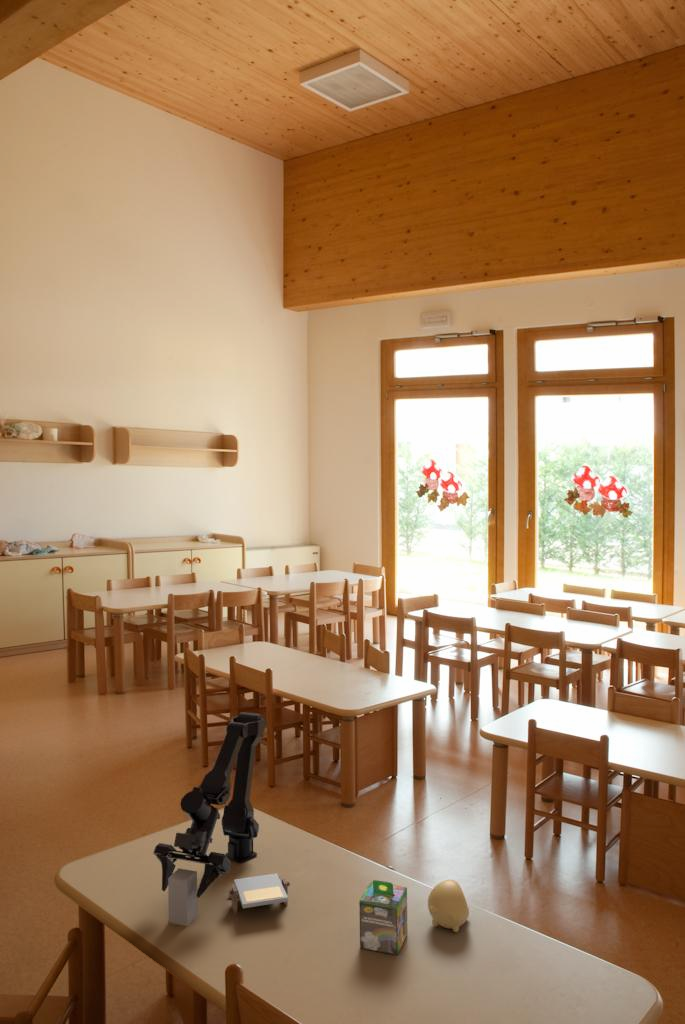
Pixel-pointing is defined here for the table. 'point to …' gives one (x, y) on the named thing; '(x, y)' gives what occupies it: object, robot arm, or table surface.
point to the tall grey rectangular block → (182, 896)
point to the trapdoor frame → (234, 895)
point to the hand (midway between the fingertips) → (180, 894)
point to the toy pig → (448, 905)
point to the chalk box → (383, 917)
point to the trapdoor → (260, 890)
